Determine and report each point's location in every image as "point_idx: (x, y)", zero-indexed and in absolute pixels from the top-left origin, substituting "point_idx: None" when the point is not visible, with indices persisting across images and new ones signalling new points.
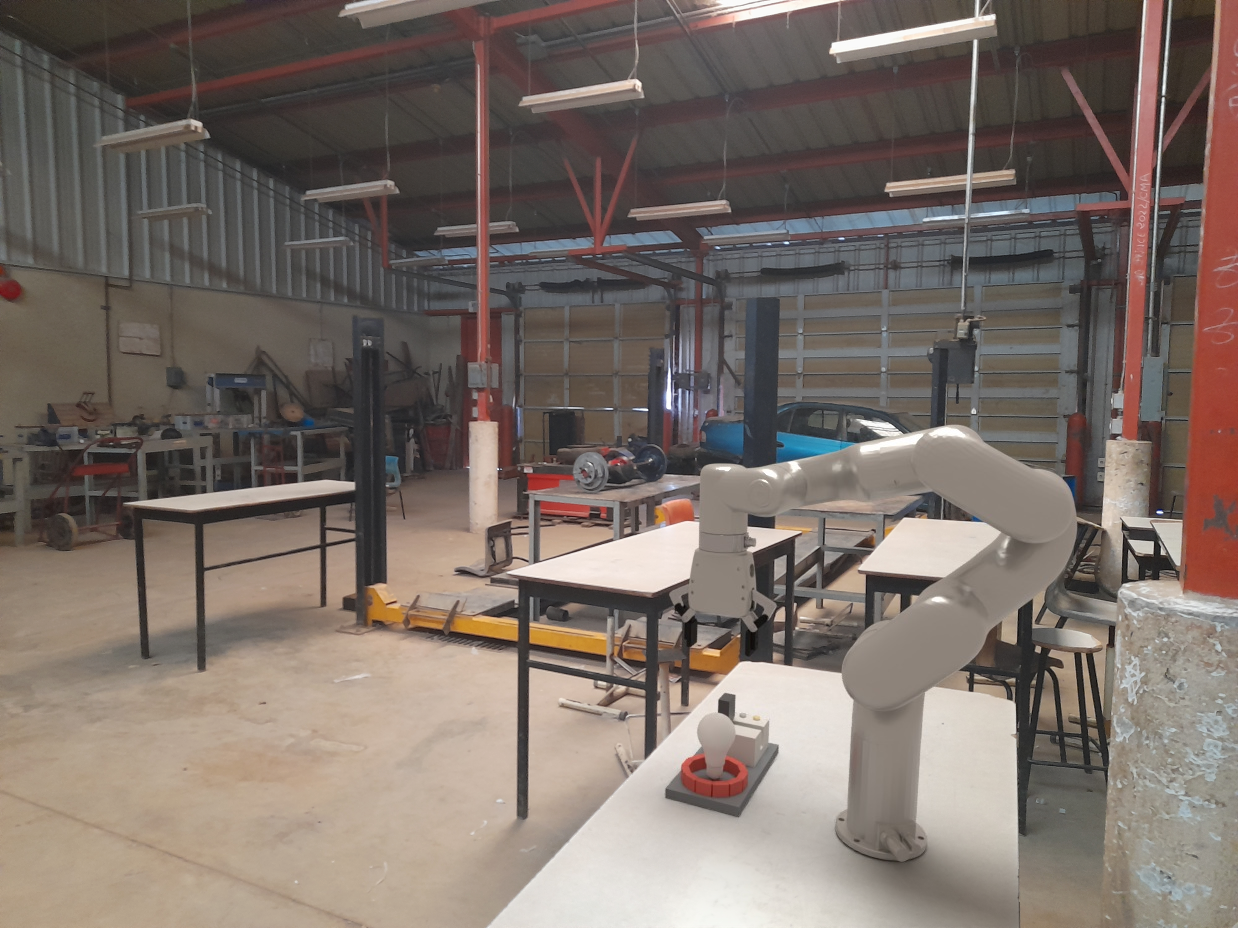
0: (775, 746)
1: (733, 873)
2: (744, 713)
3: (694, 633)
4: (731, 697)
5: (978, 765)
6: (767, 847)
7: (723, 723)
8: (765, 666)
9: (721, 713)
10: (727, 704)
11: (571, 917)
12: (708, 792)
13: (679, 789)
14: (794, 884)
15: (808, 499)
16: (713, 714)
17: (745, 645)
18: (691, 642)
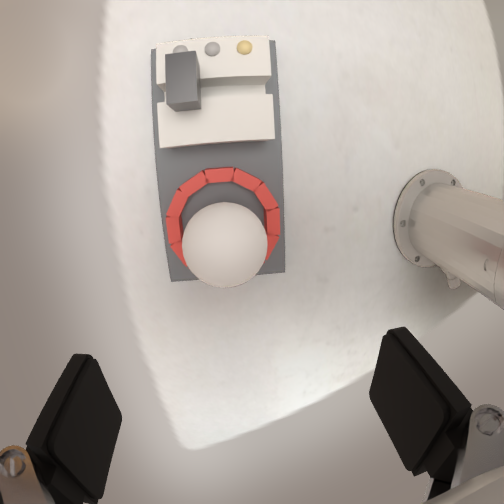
0: (272, 48)
1: (308, 359)
2: (214, 43)
3: (93, 426)
4: (192, 72)
5: (474, 20)
6: (330, 306)
7: (250, 271)
8: None
9: (181, 107)
10: (193, 102)
11: (215, 442)
12: None
13: (190, 274)
14: (362, 342)
15: None
16: (218, 264)
17: (385, 426)
18: (116, 425)
